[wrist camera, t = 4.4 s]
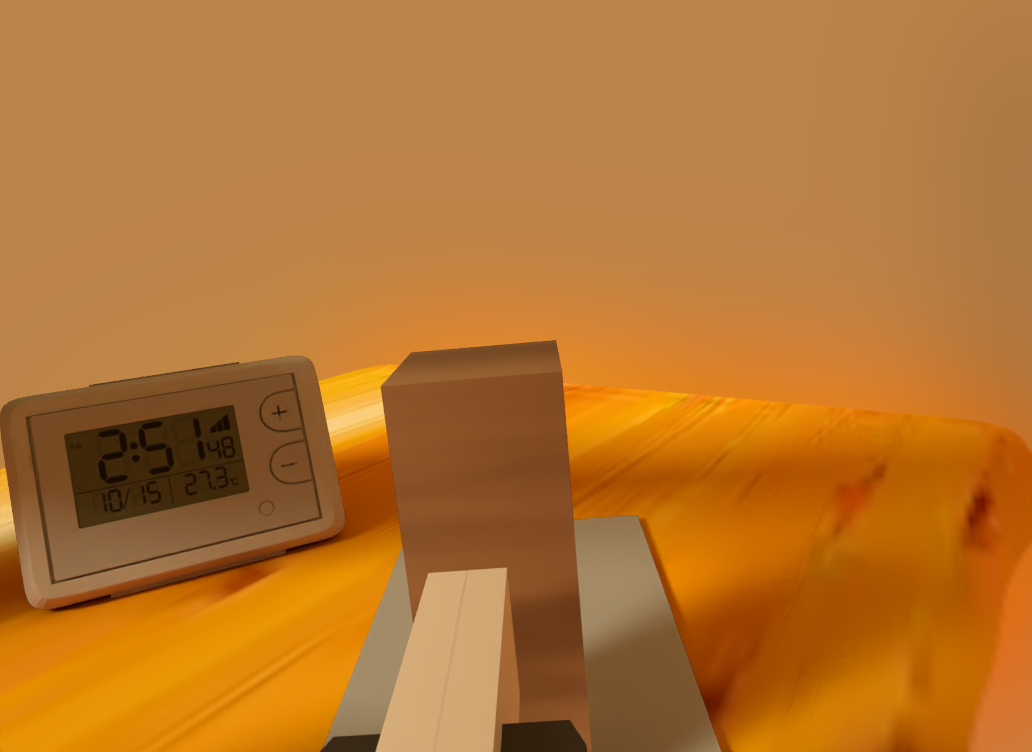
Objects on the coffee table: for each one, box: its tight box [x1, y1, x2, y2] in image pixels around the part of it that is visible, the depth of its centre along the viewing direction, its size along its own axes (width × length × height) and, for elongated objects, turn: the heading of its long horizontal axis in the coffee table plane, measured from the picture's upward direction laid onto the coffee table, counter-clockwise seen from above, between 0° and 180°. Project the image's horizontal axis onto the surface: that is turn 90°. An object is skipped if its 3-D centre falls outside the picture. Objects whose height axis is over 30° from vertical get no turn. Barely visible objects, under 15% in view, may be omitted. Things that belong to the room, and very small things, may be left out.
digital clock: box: [0, 356, 345, 609], centre depth 39 cm, size 16×9×11 cm, turn 103°
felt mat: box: [323, 515, 721, 752], centre depth 29 cm, size 22×13×1 cm, turn 179°
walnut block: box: [381, 340, 592, 752], centre depth 21 cm, size 4×4×13 cm
